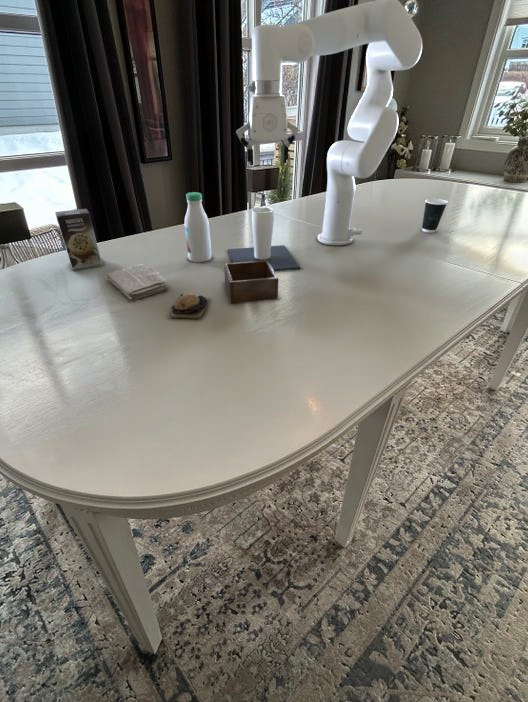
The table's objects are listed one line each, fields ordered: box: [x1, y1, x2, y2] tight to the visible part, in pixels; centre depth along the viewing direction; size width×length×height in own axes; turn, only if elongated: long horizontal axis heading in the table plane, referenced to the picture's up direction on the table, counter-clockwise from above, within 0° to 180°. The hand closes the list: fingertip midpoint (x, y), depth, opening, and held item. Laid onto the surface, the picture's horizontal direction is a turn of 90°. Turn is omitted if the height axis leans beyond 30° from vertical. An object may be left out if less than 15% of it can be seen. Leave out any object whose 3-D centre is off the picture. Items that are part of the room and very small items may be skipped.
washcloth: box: [106, 263, 169, 301], centre depth 104 cm, size 12×18×3 cm, turn 39°
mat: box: [227, 244, 301, 272], centre depth 120 cm, size 20×20×1 cm
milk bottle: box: [184, 191, 212, 263], centre depth 115 cm, size 8×8×20 cm
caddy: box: [223, 260, 279, 304], centre depth 100 cm, size 13×13×6 cm
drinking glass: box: [251, 206, 275, 260], centre depth 116 cm, size 7×7×15 cm
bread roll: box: [170, 293, 208, 320], centre depth 93 cm, size 11×8×4 cm
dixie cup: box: [421, 198, 449, 234], centre depth 140 cm, size 8×8×11 cm
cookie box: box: [54, 208, 103, 271], centre depth 113 cm, size 9×6×16 cm
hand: (267, 163), depth 105 cm, fingers open, 9 cm apart
